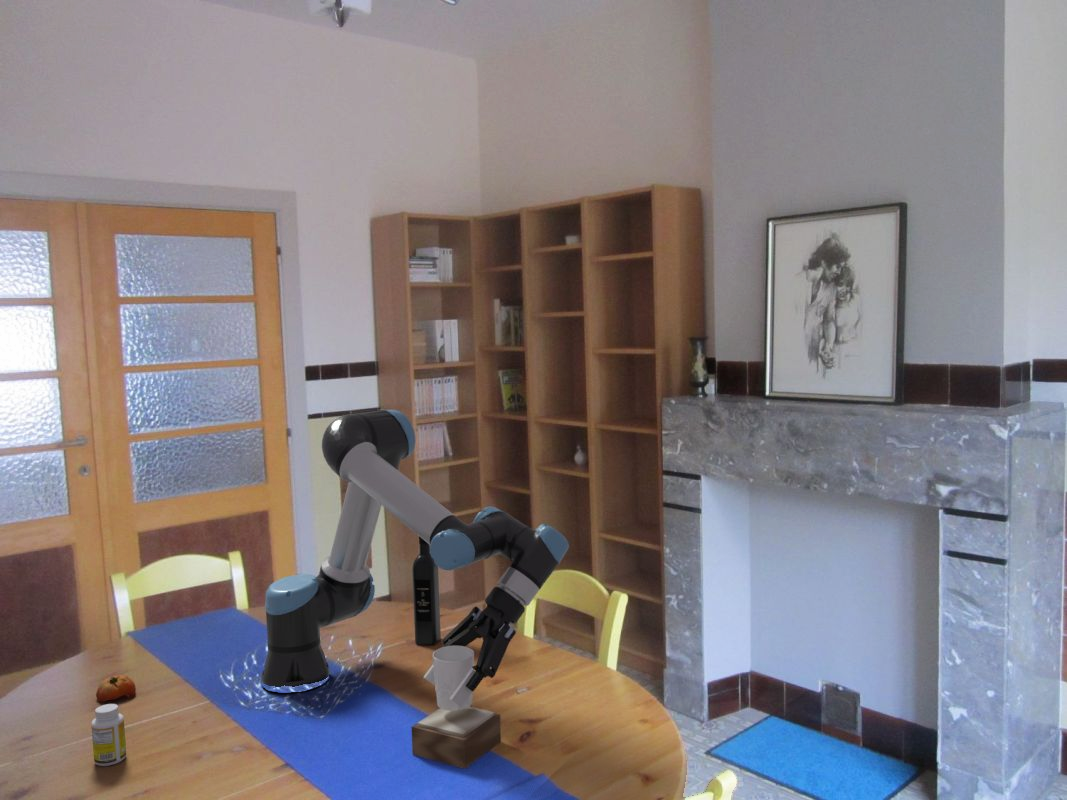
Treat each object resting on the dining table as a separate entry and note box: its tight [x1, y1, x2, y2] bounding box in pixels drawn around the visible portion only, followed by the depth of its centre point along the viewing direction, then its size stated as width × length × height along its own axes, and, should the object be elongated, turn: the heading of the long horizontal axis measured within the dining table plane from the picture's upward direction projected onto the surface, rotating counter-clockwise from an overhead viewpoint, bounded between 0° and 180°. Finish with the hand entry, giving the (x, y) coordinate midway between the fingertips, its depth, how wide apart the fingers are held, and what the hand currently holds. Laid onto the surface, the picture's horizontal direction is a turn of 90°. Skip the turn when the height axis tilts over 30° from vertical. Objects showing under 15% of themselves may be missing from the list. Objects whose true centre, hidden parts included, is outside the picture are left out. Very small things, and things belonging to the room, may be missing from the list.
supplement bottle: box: [90, 703, 127, 767], centre depth 168 cm, size 6×6×10 cm
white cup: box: [432, 645, 475, 711], centre depth 171 cm, size 8×8×10 cm
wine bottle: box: [411, 536, 442, 646], centre depth 227 cm, size 6×6×30 cm
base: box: [411, 706, 502, 770], centre depth 170 cm, size 12×12×6 cm
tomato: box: [95, 674, 137, 704], centre depth 199 cm, size 8×7×7 cm
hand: (441, 691), depth 167 cm, fingers open, 11 cm apart
